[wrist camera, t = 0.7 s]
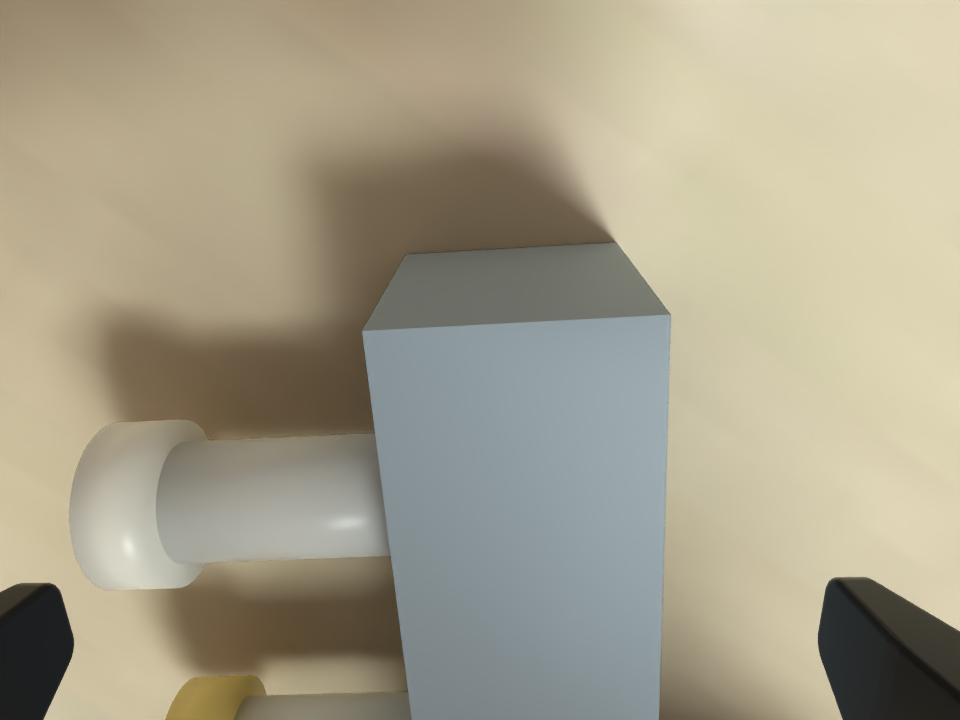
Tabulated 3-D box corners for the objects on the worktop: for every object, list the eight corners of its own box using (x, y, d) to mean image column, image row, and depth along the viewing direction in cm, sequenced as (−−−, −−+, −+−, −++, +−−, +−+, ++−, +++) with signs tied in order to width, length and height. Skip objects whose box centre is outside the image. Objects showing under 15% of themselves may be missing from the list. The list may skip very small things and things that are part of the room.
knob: (457, 516, 22) (447, 615, 18) (172, 527, 22) (97, 627, 18) (445, 381, 20) (431, 456, 16) (139, 396, 21) (49, 473, 17)
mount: (615, 764, 27) (651, 976, 21) (458, 768, 28) (444, 978, 21) (616, 242, 20) (671, 314, 14) (406, 254, 21) (362, 330, 14)
